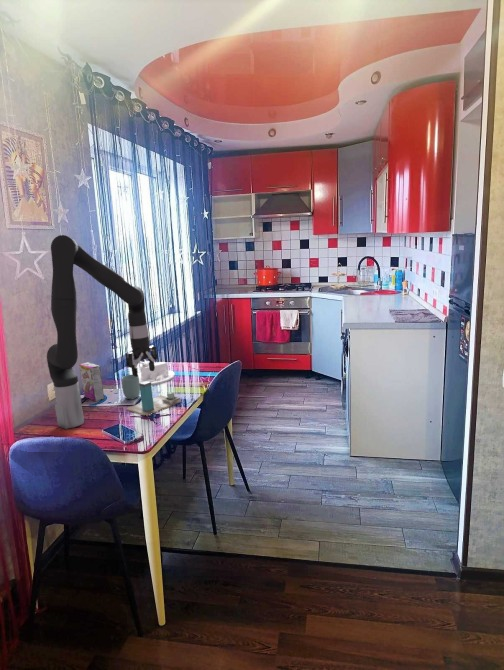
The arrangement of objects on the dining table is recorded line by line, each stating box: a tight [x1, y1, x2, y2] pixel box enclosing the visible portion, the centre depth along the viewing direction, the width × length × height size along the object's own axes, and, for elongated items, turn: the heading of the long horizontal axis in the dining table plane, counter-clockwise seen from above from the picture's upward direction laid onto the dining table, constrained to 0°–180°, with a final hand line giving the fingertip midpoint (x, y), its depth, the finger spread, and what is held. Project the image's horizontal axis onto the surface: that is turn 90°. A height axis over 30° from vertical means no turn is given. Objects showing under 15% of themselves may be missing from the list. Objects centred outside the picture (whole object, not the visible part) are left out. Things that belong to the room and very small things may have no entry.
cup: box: [120, 374, 141, 400], centre depth 217 cm, size 8×8×10 cm
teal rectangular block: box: [139, 381, 154, 412], centre depth 197 cm, size 4×4×12 cm
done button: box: [166, 391, 176, 400], centre depth 207 cm, size 3×3×2 cm
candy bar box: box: [78, 361, 105, 402], centre depth 219 cm, size 11×5×16 cm, turn 47°
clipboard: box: [126, 394, 182, 417], centre depth 205 cm, size 19×14×2 cm
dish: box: [138, 359, 176, 386], centre depth 245 cm, size 25×25×11 cm
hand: (144, 373), depth 195 cm, fingers open, 8 cm apart
